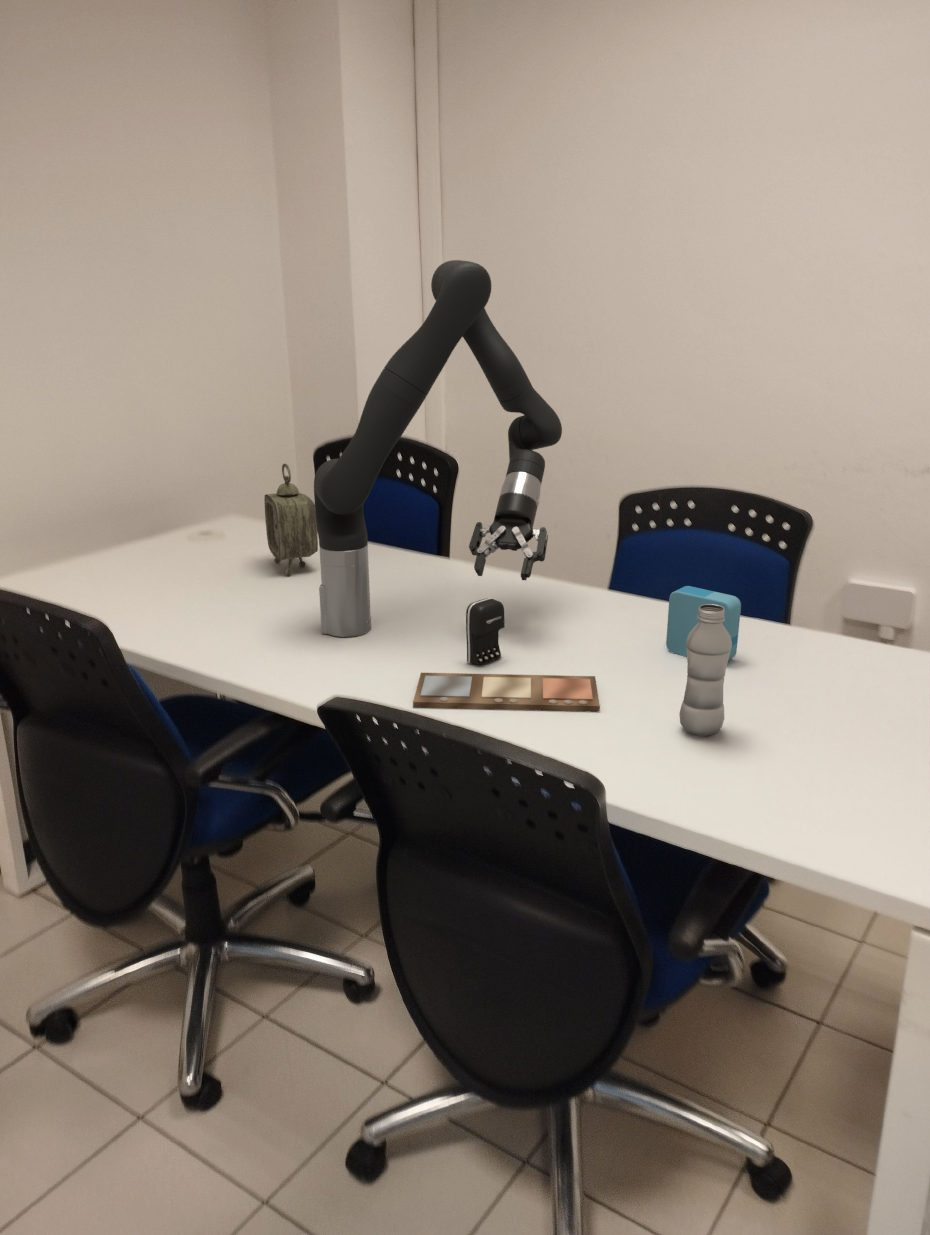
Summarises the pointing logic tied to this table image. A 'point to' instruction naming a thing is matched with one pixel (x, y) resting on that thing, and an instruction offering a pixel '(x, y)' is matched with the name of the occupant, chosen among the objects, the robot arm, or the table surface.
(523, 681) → the tile board
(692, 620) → the data package
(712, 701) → the plastic bottle
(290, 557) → the tabletop clock
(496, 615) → the battery charger
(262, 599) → the table surface
